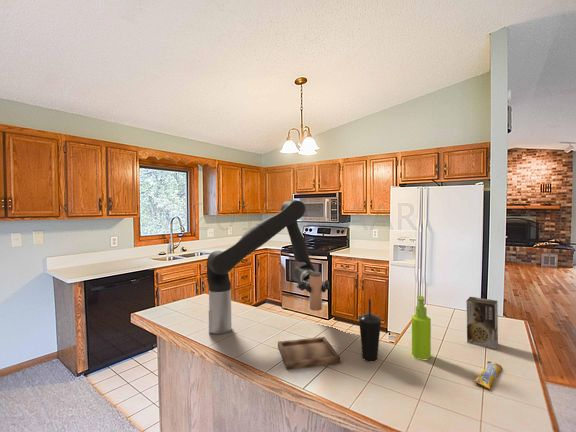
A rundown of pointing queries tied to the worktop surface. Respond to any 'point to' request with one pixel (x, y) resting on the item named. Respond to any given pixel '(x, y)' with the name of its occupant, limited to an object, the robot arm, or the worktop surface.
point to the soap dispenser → (421, 332)
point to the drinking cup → (369, 334)
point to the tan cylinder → (316, 291)
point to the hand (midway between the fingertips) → (317, 289)
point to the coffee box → (482, 322)
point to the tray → (307, 353)
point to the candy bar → (488, 374)
